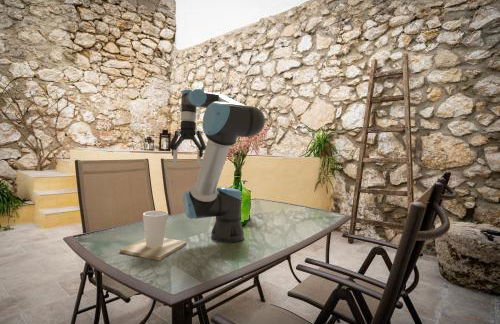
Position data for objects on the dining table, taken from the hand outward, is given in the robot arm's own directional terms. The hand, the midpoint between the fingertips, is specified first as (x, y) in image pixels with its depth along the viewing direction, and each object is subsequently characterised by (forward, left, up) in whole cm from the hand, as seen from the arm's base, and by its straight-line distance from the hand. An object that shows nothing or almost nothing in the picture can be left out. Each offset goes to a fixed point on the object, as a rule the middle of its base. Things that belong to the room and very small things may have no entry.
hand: (186, 163), depth 135 cm
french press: (-21, -31, -33) cm, 50 cm away
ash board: (-5, +29, -33) cm, 44 cm away
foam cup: (-4, +29, -32) cm, 43 cm away
